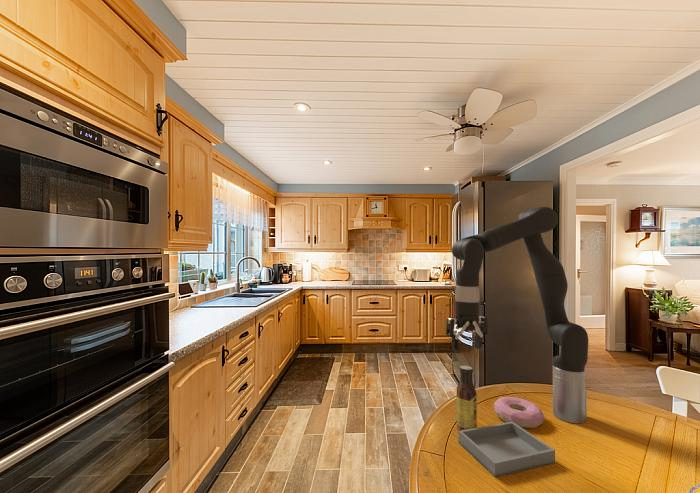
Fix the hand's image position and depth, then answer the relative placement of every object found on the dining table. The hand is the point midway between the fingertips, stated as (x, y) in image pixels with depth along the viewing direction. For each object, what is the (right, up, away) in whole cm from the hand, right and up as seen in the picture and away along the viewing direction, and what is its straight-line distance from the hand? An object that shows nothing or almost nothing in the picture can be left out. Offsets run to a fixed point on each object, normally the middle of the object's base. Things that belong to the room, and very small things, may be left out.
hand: (466, 349), depth 101 cm
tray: (+6, -26, -12) cm, 29 cm away
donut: (+20, -27, +7) cm, 34 cm away
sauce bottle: (0, -26, -1) cm, 26 cm away
